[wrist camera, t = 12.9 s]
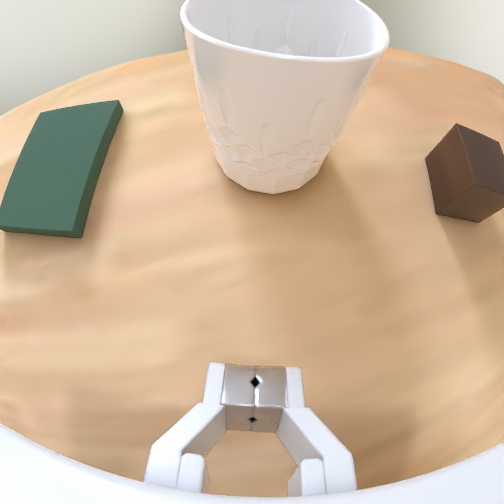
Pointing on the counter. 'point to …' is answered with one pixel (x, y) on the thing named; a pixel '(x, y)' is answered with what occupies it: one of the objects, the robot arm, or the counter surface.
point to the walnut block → (467, 175)
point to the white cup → (279, 81)
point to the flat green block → (59, 170)
